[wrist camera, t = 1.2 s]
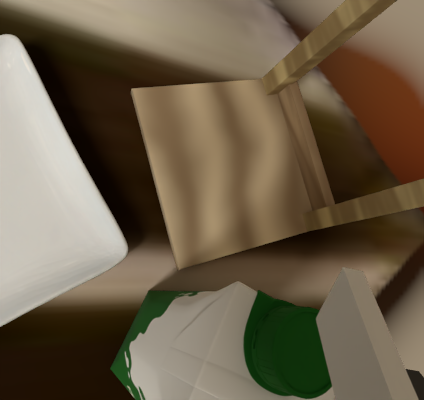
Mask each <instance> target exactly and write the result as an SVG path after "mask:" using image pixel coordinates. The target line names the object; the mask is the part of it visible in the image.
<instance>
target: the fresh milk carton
mask: <svg viewBox="0 0 424 400" xmlns="http://www.w3.org/2000/svg"><path fill="white" fill-rule="evenodd" d="M319 311H320V310H317V309H314V308H311V307H299V306H296V305H294V304H292V303H289V302H286V301H283V300H279V299H274V298H272V297H270V296H268V295H267V294H265V293H263V292H261V291H260V290H258V292H257V291H255V290H253V289H252V288H250V287H248V286H246V285H245V284H243V283H241V282H239V281H237V282H235V283H233V284H231V285H229V286H227V287H225V288H223V289H220V290H218V291H148V293H147V295H146V297H145V299H144V301H143V303H142V305H141V307H140V309H139V311H138V313H137V315H136V317H135V319H134V321H133V323H132V325H131V328H130V330H129V332H128V334H127V336H126V338H125V340H124V342H123V344H122V346H121V348H120V350H119V352H118V354H117V356H116V358H115V360H114V362H113V364H112V366H111V368H110V369H111V370H112V371H113V372H114V374H115V375H116V376H117V377H118V379H119V380H120V381H121V382H122V384H123V385H124V386H125V387H126V389H127V390H128V391H129V392H130V393H131V395H132V396H133V397H134V398H135V399H136V400H333V399H334V391H333V387H332V383H331V379H330V375H329V371H328V367H327V363H326V359H325V355H324V351H323V346H322V342H321V338H320V334H319V330H318V326H317V322H316V317H317V315H318V313H319Z"/></svg>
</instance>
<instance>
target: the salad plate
mask: <svg viewBox="0 0 424 400" xmlns="http://www.w3.org/2000/svg"><path fill="white" fill-rule="evenodd" d="M127 253H128V245H127V242H126V240H125V237H124V235H123V233H122V231H121V229H120V227H119V225H118V224H117V222H116V220H115V218H114V216H113V215H112V213H111V211H110V209H109V208H108V206H107V204H106V202H105V200H104V199H103V197H102V195H101V194H100V192H99V190H98V188H97V187H96V185H95V183H94V181H93V179H92V178H91V176H90V174H89V172H88V170H87V169H86V167H85V165H84V163H83V162H82V160H81V158H80V156H79V154H78V152H77V150H76V149H75V147H74V145H73V143H72V141H71V139H70V137H69V135H68V133H67V131H66V129H65V127H64V125H63V123H62V121H61V119H60V117H59V115H58V113H57V111H56V109H55V107H54V105H53V103H52V101H51V99H50V97H49V95H48V93H47V91H46V89H45V87H44V85H43V83H42V81H41V78H40V76H39V75H38V73H37V71H36V69H35V66H34V64H33V62H32V61H31V59H30V57H29V55H28V53H27V51H26V49H25V48H24V46H23V44H22V43H21V41H20V40H19V39H18V38H17V37H16V36H14V35H10V34H4V35H0V327H1V326H2V325H4V324H6V323H8V322H10V321H12V320H14V319H15V318H17V317H19V316H21V315H23V314H25V313H27V312H28V311H30V310H32V309H34V308H36V307H38V306H40V305H42V304H44V303H46V302H48V301H50V300H52V299H53V298H55V297H57V296H59V295H61V294H63V293H65V292H67V291H69V290H71V289H73V288H75V287H77V286H79V285H81V284H83V283H85V282H87V281H89V280H91V279H93V278H95V277H97V276H99V275H101V274H102V273H104V272H106V271H107V270H109V269H111V268H113V267H114V266H116V265H117V264H118V263H120V262H121V261H122V260H123V259H124V258H125V257H126V256H127Z"/></svg>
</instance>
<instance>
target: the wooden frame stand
mask: <svg viewBox="0 0 424 400" xmlns="http://www.w3.org/2000/svg"><path fill="white" fill-rule="evenodd" d="M396 1H397V0H345V1H344V2H343V3H342V4H341V5H340V6H339V7H338V8H337V9H336V10H335V11H334V12H332V13H331V14H330V15H329V16H328V17H327V18H326V19H325V20H324V21H323V22H322V23H321V24H320V25H319V26H318V27H317V28H315V29H314V30H313V31H312V32H311V33H310V34H309V35H308V36H307V37H306V38H305V39H304V40H303V41H302V42H301V43H299V44H298V45H297V46H296V47H295V48H294V49H293V50H292V51H291V52H290V53H289V54H288V55H287V56H286V57H285V58H284V59H282V60H281V61H280V62H279V63H278V64H277V65H276V66H275V67H274V68H273V69H272V70H271V71H270V72H269V73H268V74H266V75H265V76H264V77H263V78H262V79H253V80H240V81H227V82H213V83H200V84H187V85H174V86H160V87H147V88H134V89H132V90H131V94H132V98H133V102H134V106H135V110H136V113H137V117H138V121H139V125H140V129H141V133H142V136H143V140H144V144H145V148H146V152H147V156H148V159H149V163H150V167H151V171H152V175H153V179H154V182H155V186H156V190H157V194H158V198H159V202H160V205H161V209H162V213H163V217H164V221H165V225H166V228H167V232H168V236H169V240H170V244H171V248H172V251H173V255H174V259H175V263H176V267H177V270H180V269H183V268H187V267H190V266H193V265H197V264H200V263H203V262H207V261H210V260H214V259H217V258H220V257H224V256H227V255H230V254H234V253H237V252H240V251H244V250H247V249H251V248H254V247H257V246H261V245H264V244H267V243H271V242H274V241H278V240H281V239H284V238H288V237H291V236H294V235H298V234H301V233H304V232H308V231H313V230H317V229H322V228H326V227H331V226H335V225H340V224H345V223H349V222H354V221H358V220H363V219H367V218H372V217H377V216H381V215H386V214H390V213H395V212H399V211H404V210H409V209H413V208H418V207H422V206H424V179H422V180H418V181H415V182H411V183H408V184H404V185H401V186H397V187H394V188H390V189H387V190H383V191H380V192H377V193H373V194H370V195H366V196H363V197H359V198H356V199H352V200H349V201H345V202H342V203H338V204H335V202H334V199H333V196H332V193H331V189H330V186H329V183H328V180H327V176H326V173H325V170H324V167H323V163H322V160H321V157H320V154H319V150H318V147H317V144H316V141H315V137H314V134H313V131H312V128H311V125H310V121H309V118H308V115H307V112H306V108H305V105H304V102H303V99H302V95H301V92H300V89H299V86H298V82H297V80H299V79H300V78H301V77H302V76H304V75H305V74H306V73H307V72H309V71H310V70H311V69H312V68H314V67H315V66H316V65H317V64H319V63H320V62H321V61H322V60H324V59H325V58H326V57H327V56H328V55H330V54H331V53H332V52H333V51H334V50H336V49H337V48H338V47H340V46H341V45H342V44H343V43H345V42H346V41H347V40H348V39H350V38H351V37H352V36H353V35H355V34H356V33H357V32H358V31H360V30H361V29H362V28H363V27H365V26H366V25H367V24H368V23H369V22H371V21H372V20H373V19H374V18H376V17H377V16H378V15H379V14H381V13H382V12H383V11H384V10H386V9H387V8H388V7H389V6H390V5H392V4H393V3H394V2H396Z"/></svg>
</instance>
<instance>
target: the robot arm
mask: <svg viewBox="0 0 424 400" xmlns="http://www.w3.org/2000/svg"><path fill="white" fill-rule="evenodd" d="M316 322H317V326H318V330H319V334H320V338H321V342H322V346H323V351H324V355H325V359H326V363H327V367H328V371H329V375H330V379H331V383H332V387H333V391H334V395H335V399H336V400H424V377H423V376H422V375H421V374H420V372H419V371H414V370H408V369H405V367H404V365H403V362H402V360H401V358H400V355H399V353H398V351H397V348H396V346H395V344H394V342H393V339H392V337H391V335H390V332H389V330H388V328H387V325H386V323H385V321H384V318H383V316H382V314H381V312H380V309H379V307H378V305H377V303H376V300H375V298H374V295H373V293H372V291H371V288H370V286H369V284H368V282H367V279H366V277H365V275H364V272H363V271H360V270H355V269H350V268H345V267H343V268H342V270H341V272H340V274H339V276H338V277H337V279H336V281H335V283H334V285H333V287H332V289H331V291H330V292H329V294H328V296H327V298H326V300H325V302H324V304H323V306H322V308H321V309H320V311H319V313H318V315H317V317H316Z"/></svg>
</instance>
